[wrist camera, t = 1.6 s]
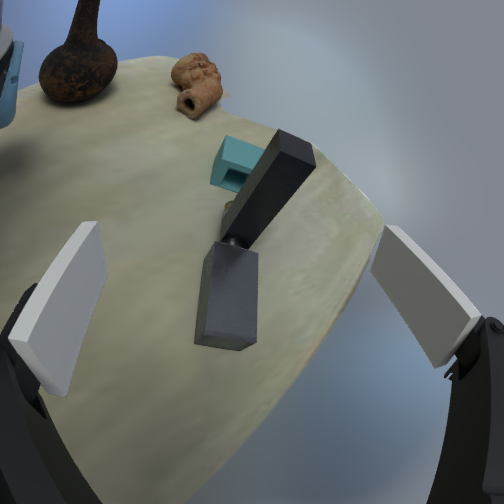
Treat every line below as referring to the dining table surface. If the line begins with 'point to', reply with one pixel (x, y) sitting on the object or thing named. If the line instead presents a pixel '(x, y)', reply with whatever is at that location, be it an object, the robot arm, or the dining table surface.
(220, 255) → the outer sleeve
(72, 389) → the dining table surface
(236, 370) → the dining table surface
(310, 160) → the dark lever handle
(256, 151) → the socket block
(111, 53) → the glass bottle
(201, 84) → the clay pipe
